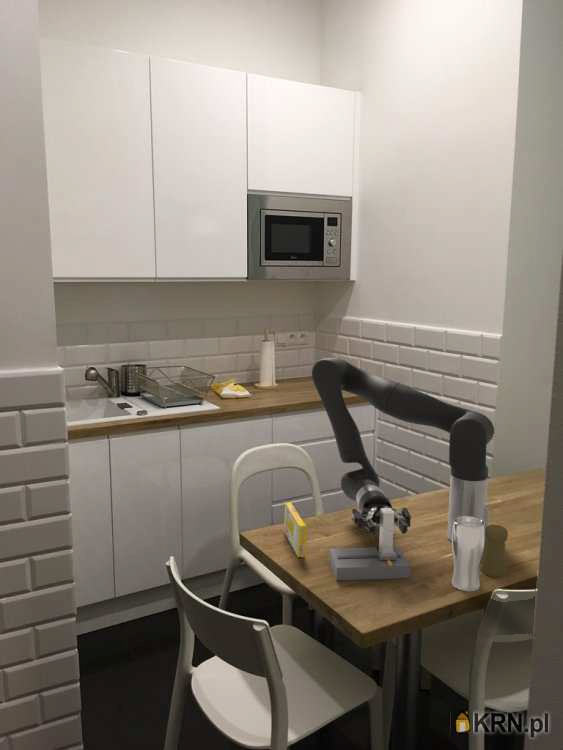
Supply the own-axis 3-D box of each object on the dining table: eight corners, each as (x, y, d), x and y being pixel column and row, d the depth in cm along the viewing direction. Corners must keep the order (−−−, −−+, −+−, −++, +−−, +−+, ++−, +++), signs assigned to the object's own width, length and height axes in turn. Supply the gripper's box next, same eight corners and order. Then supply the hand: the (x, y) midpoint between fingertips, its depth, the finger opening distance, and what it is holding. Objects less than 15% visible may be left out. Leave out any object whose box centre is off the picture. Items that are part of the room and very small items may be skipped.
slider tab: (391, 550, 152) (392, 506, 150) (396, 559, 147) (398, 514, 146) (374, 550, 152) (376, 506, 150) (379, 560, 147) (381, 515, 145)
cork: (508, 578, 146) (512, 533, 144) (481, 575, 147) (484, 530, 145) (505, 566, 152) (508, 522, 150) (478, 564, 153) (481, 520, 151)
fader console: (398, 558, 156) (399, 545, 155) (410, 577, 146) (410, 564, 145) (329, 560, 154) (329, 547, 154) (336, 580, 144) (336, 567, 144)
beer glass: (476, 595, 138) (481, 530, 135) (445, 587, 142) (448, 523, 139) (485, 582, 144) (489, 519, 141) (454, 574, 147) (458, 513, 145)
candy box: (306, 557, 156) (306, 525, 154) (297, 558, 155) (298, 526, 154) (291, 531, 171) (291, 501, 170) (283, 531, 171) (283, 502, 170)
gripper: (345, 490, 161) (358, 515, 145) (401, 489, 162) (420, 514, 146) (344, 518, 163) (358, 546, 146) (400, 517, 164) (419, 544, 147)
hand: (389, 530), depth 146 cm, fingers open, 6 cm apart
